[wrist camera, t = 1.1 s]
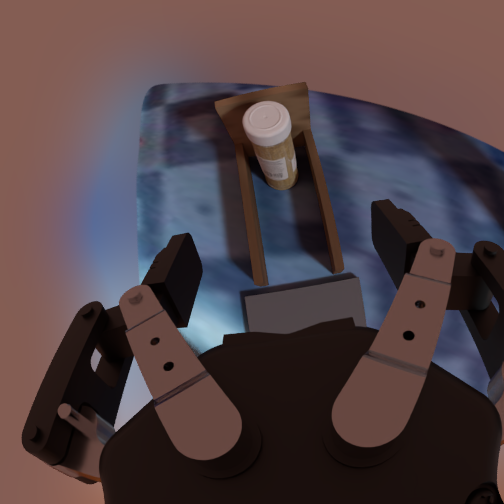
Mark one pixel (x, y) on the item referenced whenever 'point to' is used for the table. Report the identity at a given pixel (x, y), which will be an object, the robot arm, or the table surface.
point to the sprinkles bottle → (272, 142)
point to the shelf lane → (232, 116)
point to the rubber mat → (305, 307)
